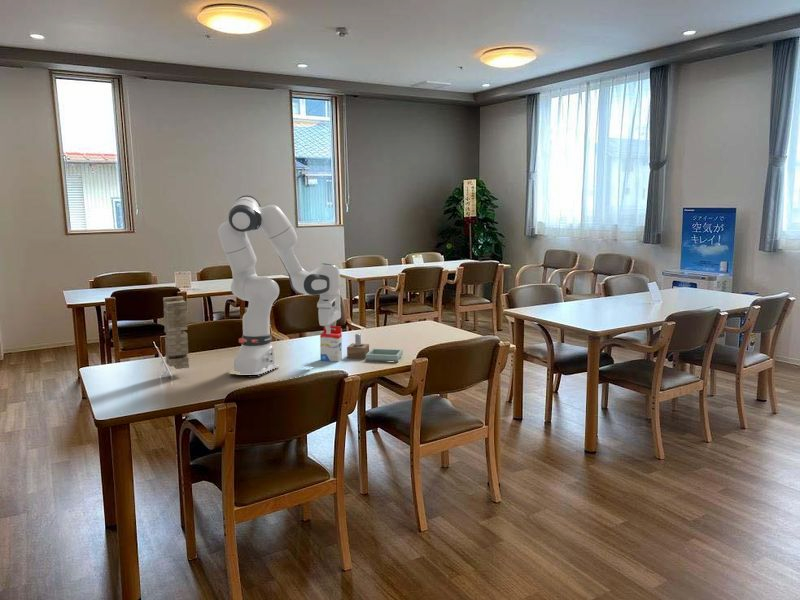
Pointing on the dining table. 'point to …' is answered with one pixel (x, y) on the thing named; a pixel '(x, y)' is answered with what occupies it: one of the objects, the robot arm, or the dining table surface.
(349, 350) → the brown wooden box
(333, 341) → the ink box
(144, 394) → the dining table surface
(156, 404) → the dining table surface
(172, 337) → the tower
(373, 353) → the tray
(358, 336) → the pin gauge
